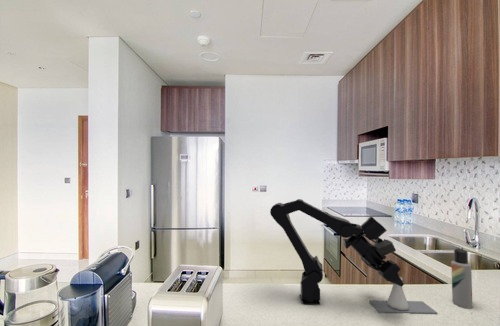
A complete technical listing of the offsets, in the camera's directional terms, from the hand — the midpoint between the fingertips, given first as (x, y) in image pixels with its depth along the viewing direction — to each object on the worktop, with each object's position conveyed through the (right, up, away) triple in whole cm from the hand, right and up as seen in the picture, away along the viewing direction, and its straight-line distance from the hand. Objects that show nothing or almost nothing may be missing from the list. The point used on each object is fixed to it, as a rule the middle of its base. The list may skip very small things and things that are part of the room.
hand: (395, 279), depth 91 cm
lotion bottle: (+26, -10, +2) cm, 28 cm away
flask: (+1, -9, -1) cm, 9 cm away
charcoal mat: (+2, -10, -1) cm, 10 cm away
